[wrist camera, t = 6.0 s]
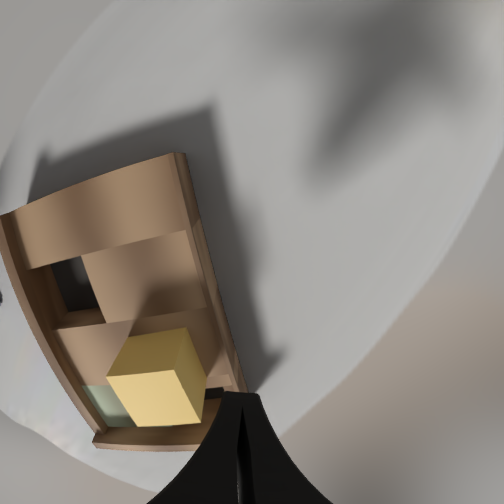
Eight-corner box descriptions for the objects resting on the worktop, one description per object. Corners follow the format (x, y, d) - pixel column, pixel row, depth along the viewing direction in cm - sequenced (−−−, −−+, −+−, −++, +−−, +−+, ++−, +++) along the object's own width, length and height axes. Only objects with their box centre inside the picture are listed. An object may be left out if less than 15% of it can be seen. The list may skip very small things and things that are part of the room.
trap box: (112, 409, 23) (96, 448, 18) (25, 208, 18) (-19, 223, 13) (250, 398, 23) (252, 445, 18) (185, 153, 17) (164, 151, 12)
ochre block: (151, 384, 18) (137, 426, 15) (127, 337, 17) (105, 376, 13) (207, 377, 18) (201, 422, 14) (186, 327, 17) (173, 369, 13)
